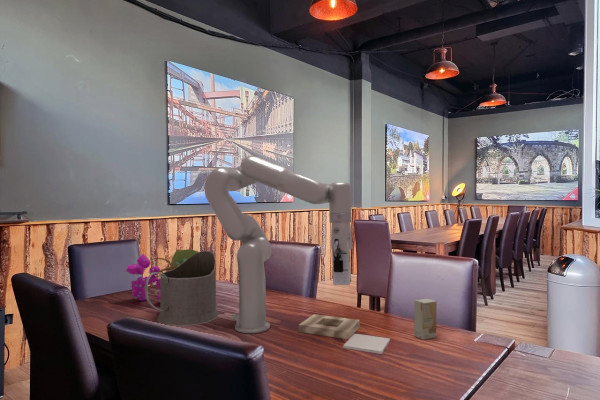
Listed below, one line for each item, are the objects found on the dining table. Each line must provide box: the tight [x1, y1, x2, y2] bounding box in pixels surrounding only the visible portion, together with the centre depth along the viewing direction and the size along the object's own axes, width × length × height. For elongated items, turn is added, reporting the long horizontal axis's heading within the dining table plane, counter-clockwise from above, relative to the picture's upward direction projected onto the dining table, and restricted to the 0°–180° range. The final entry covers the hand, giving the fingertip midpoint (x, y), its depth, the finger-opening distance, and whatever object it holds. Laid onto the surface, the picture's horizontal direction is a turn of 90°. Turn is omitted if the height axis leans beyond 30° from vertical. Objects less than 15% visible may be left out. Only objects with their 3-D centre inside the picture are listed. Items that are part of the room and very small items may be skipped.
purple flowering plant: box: [125, 248, 199, 302], centre depth 186 cm, size 30×28×35 cm
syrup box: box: [331, 242, 352, 286], centre depth 136 cm, size 6×6×14 cm
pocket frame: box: [298, 313, 361, 340], centre depth 141 cm, size 18×14×2 cm
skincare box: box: [413, 298, 437, 340], centre depth 133 cm, size 6×4×12 cm
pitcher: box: [145, 250, 220, 327], centre depth 153 cm, size 23×32×25 cm
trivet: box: [342, 333, 391, 355], centre depth 126 cm, size 12×12×1 cm
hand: (341, 269), depth 136 cm, fingers closed on syrup box, 6 cm apart
